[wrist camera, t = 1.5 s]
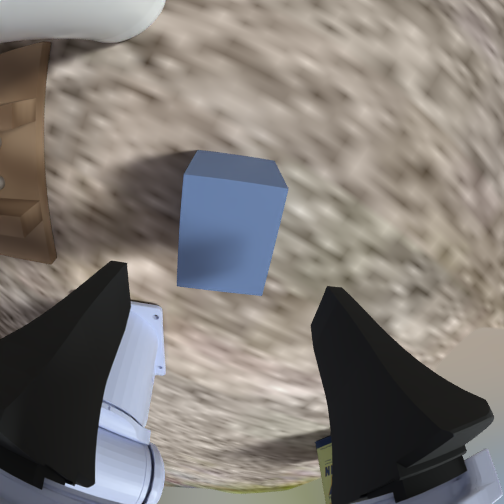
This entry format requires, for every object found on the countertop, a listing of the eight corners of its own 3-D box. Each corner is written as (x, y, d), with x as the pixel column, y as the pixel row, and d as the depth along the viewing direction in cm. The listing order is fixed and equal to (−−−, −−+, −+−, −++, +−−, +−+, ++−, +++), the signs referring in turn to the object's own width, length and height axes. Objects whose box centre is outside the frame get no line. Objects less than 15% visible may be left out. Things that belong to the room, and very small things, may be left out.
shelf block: (255, 246, 20) (261, 295, 15) (188, 238, 19) (177, 286, 15) (274, 160, 17) (288, 189, 12) (197, 149, 16) (183, 174, 12)
